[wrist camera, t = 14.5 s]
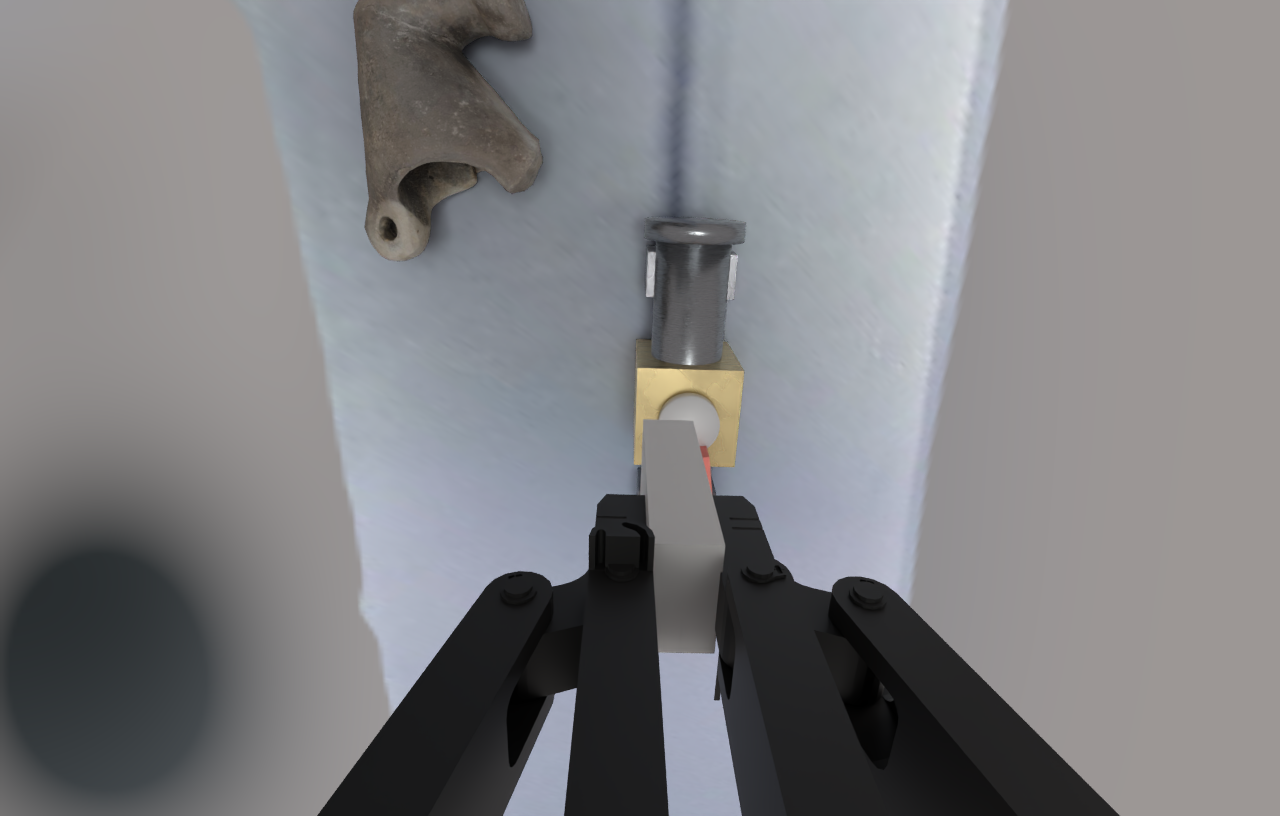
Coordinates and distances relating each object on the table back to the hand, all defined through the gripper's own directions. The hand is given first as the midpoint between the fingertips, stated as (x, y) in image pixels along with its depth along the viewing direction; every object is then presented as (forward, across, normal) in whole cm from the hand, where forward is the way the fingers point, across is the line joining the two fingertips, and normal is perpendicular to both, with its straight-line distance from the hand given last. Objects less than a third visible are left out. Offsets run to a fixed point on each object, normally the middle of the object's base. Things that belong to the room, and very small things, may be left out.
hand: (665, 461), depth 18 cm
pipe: (+29, -13, +12) cm, 34 cm away
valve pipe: (+28, +3, -7) cm, 29 cm away
